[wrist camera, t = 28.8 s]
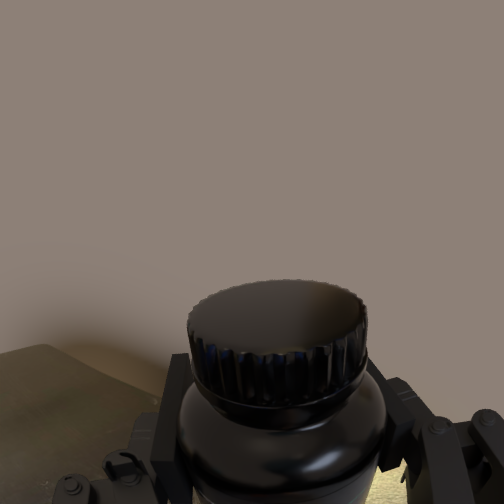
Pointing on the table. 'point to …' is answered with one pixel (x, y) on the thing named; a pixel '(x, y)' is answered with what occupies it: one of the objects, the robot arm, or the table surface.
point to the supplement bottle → (281, 396)
